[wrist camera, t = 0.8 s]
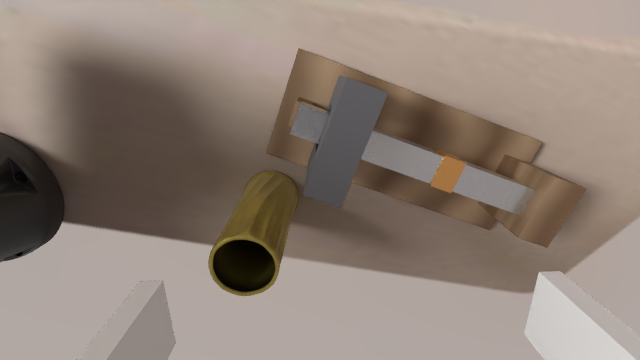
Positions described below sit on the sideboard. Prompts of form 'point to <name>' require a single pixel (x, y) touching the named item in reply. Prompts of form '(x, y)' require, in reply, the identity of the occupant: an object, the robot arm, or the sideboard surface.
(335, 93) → the collar
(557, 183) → the wooden stand
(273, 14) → the sideboard surface
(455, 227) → the sideboard surface
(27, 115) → the sideboard surface
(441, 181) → the light grey bar
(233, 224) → the vase
